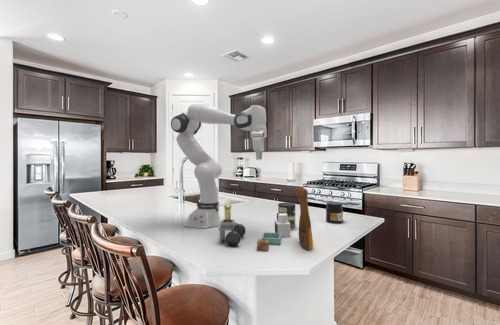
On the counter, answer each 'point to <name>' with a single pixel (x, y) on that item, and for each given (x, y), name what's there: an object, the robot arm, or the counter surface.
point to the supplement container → (334, 212)
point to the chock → (262, 245)
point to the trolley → (234, 235)
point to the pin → (227, 213)
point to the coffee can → (288, 212)
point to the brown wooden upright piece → (304, 219)
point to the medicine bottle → (282, 224)
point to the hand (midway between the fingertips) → (259, 159)
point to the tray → (272, 238)
